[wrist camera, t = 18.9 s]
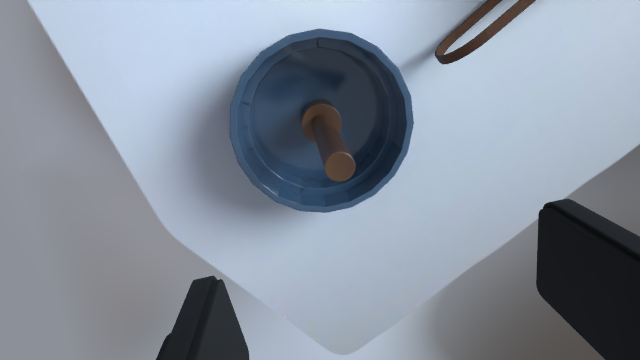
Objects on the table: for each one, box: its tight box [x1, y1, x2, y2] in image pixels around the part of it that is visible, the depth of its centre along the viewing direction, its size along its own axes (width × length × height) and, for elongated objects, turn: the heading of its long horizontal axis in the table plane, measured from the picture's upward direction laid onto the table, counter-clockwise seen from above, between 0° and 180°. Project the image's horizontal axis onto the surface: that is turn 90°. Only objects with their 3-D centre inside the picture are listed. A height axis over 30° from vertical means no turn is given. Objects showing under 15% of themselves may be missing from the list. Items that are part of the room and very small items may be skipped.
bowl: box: [229, 29, 414, 213], centre depth 32 cm, size 15×15×6 cm
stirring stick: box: [300, 99, 355, 182], centre depth 27 cm, size 4×4×15 cm
